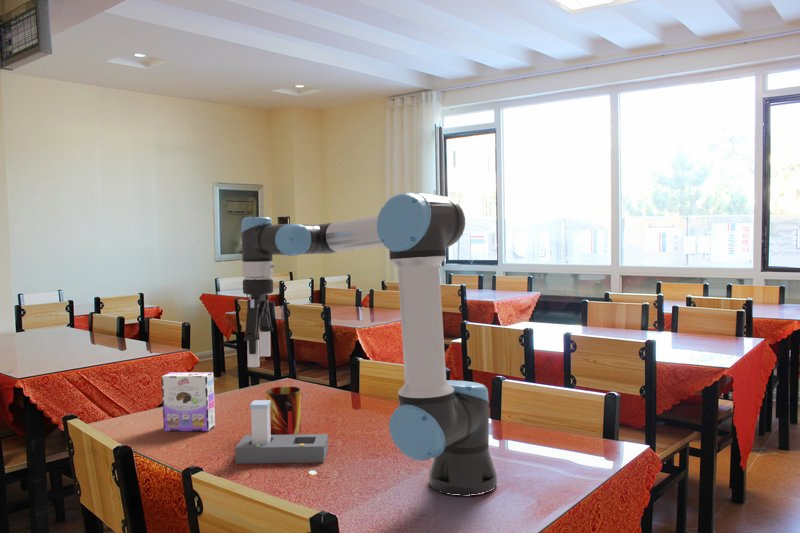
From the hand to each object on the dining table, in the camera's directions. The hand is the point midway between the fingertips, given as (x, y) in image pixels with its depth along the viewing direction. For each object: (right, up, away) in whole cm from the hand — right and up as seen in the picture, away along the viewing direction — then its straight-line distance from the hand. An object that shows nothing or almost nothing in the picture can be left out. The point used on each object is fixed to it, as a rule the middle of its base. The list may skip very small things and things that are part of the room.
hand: (259, 361), depth 162 cm
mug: (+4, -24, +21) cm, 32 cm away
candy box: (-26, -24, +26) cm, 44 cm away
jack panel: (+6, -24, +1) cm, 25 cm away
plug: (0, -25, +1) cm, 25 cm away
